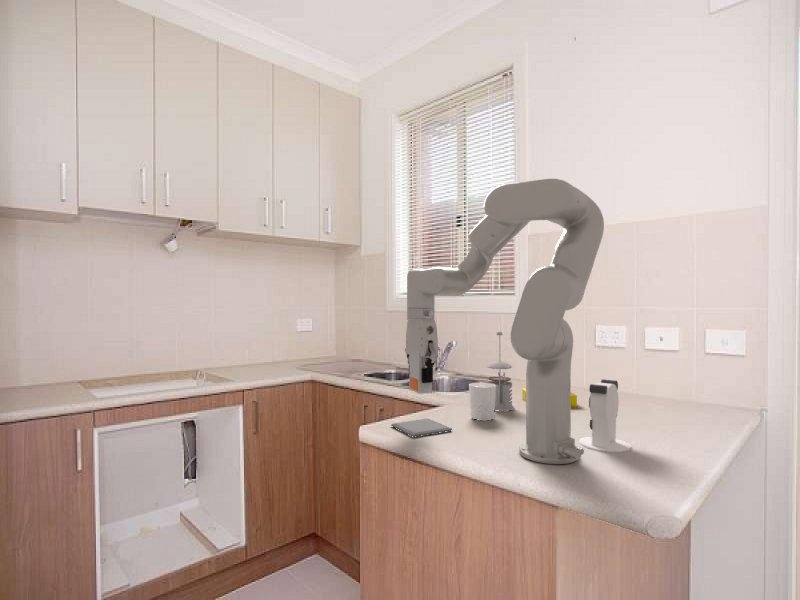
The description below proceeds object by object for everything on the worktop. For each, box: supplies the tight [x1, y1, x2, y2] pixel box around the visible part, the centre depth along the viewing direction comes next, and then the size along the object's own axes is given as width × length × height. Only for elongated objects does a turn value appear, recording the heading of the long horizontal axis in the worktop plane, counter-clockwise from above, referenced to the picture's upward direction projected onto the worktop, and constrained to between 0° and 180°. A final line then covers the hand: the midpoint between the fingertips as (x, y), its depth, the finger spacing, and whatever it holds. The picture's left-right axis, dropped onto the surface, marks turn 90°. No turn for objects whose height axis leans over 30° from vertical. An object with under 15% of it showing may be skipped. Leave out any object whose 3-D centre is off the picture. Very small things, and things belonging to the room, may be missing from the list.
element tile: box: [522, 387, 578, 409], centre depth 155 cm, size 15×15×5 cm
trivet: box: [390, 418, 453, 437], centre depth 123 cm, size 12×12×1 cm
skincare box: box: [408, 350, 433, 395], centre depth 123 cm, size 6×4×12 cm
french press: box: [486, 331, 516, 412], centre depth 146 cm, size 10×12×25 cm
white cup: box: [468, 382, 496, 421], centre depth 134 cm, size 8×8×10 cm
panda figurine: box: [578, 378, 632, 454], centre depth 109 cm, size 12×11×15 cm
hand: (420, 380), depth 123 cm, fingers closed on skincare box, 6 cm apart
